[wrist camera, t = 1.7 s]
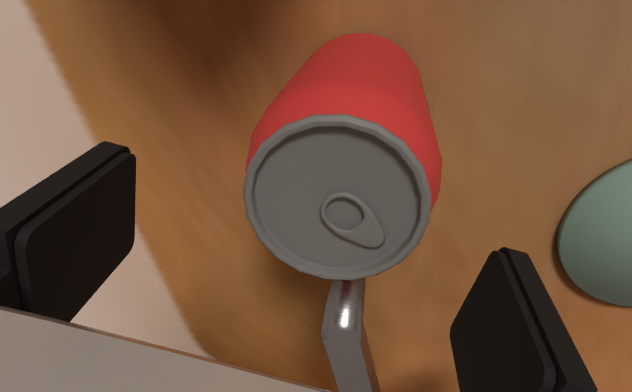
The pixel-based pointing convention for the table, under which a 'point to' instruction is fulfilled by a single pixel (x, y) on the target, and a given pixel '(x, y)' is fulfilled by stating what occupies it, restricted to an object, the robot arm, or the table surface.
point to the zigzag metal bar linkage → (348, 337)
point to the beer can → (345, 162)
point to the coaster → (600, 237)
